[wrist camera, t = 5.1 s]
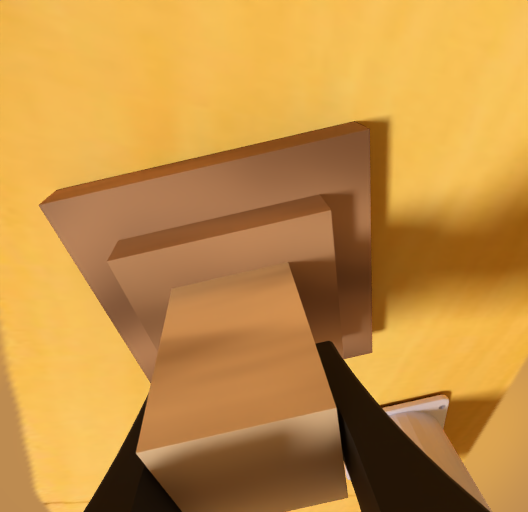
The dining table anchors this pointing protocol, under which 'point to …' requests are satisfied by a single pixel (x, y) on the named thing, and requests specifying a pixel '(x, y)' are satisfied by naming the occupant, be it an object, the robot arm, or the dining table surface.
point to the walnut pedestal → (230, 233)
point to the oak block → (241, 400)
